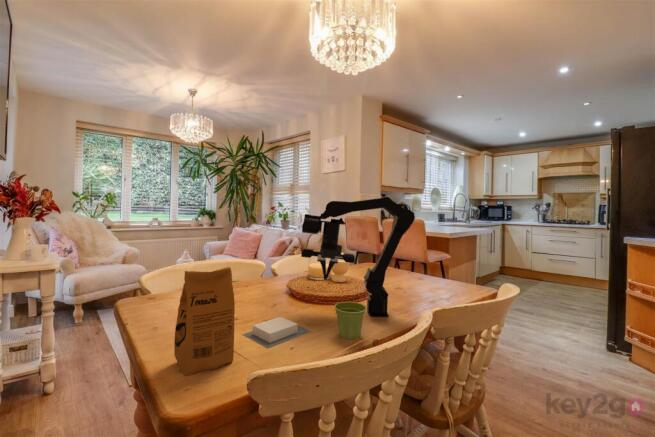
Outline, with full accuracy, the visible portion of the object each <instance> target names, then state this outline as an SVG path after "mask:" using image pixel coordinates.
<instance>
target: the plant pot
mask: <svg viewBox="0 0 655 437" xmlns="http://www.w3.org/2000/svg"><path fill="white" fill-rule="evenodd" d="M333 308H334V310H335V313H336V318H337V319H336V320H337V329H338V335H339V337H340V338H343V339H347V340H355V339H359V338H360V337H361V333H362V332H361V331H362V325H363V320H364V315H365V313H366V312H367V305H365V304H363V303H361V302H360V303H359V302H355V301H343V302H338V303H335V305H334V307H333Z"/></svg>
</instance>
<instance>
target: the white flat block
mask: <svg viewBox="0 0 655 437" xmlns="http://www.w3.org/2000/svg"><path fill="white" fill-rule="evenodd" d="M298 326H299V325H298V323H297V322H294V321H292V320H290V319H289V320H288V319H287V318H284V317H281V316H278V317H275V318H272V319H269V320H266V321H263V322H260V323H256V324H253V325H252V331H253V334H254V335H255V336H257V337H259V338H261V339H263V340H265V341H267V342H269V343H271V342H274V341H276V340H279V339H282V338H284V337H287V336H289V335H292V334H295V333H297V332H298Z"/></svg>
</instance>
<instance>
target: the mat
mask: <svg viewBox="0 0 655 437" xmlns="http://www.w3.org/2000/svg"><path fill="white" fill-rule="evenodd" d="M310 332H311V333H312V330H310V329H308V328H306V327H303V326H301V325H298V332H297V333H295V334H292V335H289V336H287V337H284V338H282V339H279V340H276V341H274V342H271V343H269V342H267V341H265V340H263V339H261V338H259V337H257V336H255V335H254V334H253V330H251V331H248V332H245V333H243V334H242V336H244V337H246V339H247V338H248V339H250V340H251V341H252V342H255V343H256V344H258V345H261V346H262V347H264V348H266V349H270V348H273V347H275V346H278V345H281V344H283V343H285V342H288V341H291V340H293V339H296V338H298V337H300V336H303V335H306V334H308V333H310Z"/></svg>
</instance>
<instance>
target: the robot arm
mask: <svg viewBox="0 0 655 437" xmlns="http://www.w3.org/2000/svg"><path fill="white" fill-rule="evenodd" d="M377 209H378V210H379V209H383V210H385V211H387V213H388V214H390V216H392V217H393V219H392V225H391V231H390V234H389V235H388V238H387V239H386V242H385V244H384V246H383V248H382V249H381V252H380V254H379V257H378V259H377V261H376V263H375V265H374V266H373V268H370V267H368V268H367V271H366V273H365V275H364V276H363V279H364V281H363V282H364V286H365V289H366V291H367V292H368V299H366V307H367V309H366V312H367V313H368V315H369V316H370V317H389V316H390V314H389V313H388V301H389V300H388V299H389V292H388V291H387V290H386V288H385V287H384V283H385V278H386V273H387V270H388V268H389V266H390V263H391V260H392V259H393V256H394V254H395V252H396V250H397V248H398V247H399V244H400V242H401V240H402V237H403V236H404V234H406V232H407V231H408V230H409V229H410V228H411V227H412V225H413V223H414V222H415V218H416V217H415V214H414V212H413V211H412V210H410V209H409V208H404V207H403V206H401V205H400V204H398V202H395V201H394V200H392V199H391V197H389V196H383V197H380V198H378V197H377V198H373V199H372V198H371V199H363V200H355V201H343V200H342V201H341V200H331V201H329V202H328V203H327V204H326V205H325V210H324V212H323V213H320V215H312V214H310V213H309V214H307V213H305V214H304V218H303V222H302V226H301V227H302V228H301V233H304V234H313V235H318V234H319V233H322V239H321V244H320V250H319V251H318V250H317V251H315V249H314V248H307V247H304V248H303V249H302V250H301V254H300V255H301V256H300V257H301V258H308V259H310V258H312V257H316V258H317V262H319V263H320V265H321V269H322V274H323V280H325V281H327V280H328V278H329V276H330V273H331V271H332V269H333V267H334V266H335V264H337V265H338V264H339V260H343V261H344V262H345V263H350V264H355V261H356V257H355V254H354V253H349V252H343V254H342V250H343V245H342V244H341V245H340V244H338V243H339V234H340V227H341V225H342V226H343V225H345V226H346V222H345V221H344V220H343V217H341V216H344V215H347V214H351V213H354V212H362V211H369V210H377ZM337 217H340V218H339V219H338V218H337ZM329 218H331V219H330V221H328V220H326V219H329ZM336 218H337V219H336ZM322 229H323V230H322ZM327 259H329V261H328V266H327Z"/></svg>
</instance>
